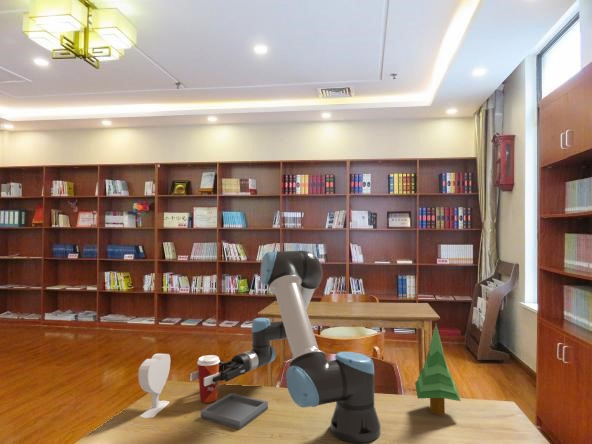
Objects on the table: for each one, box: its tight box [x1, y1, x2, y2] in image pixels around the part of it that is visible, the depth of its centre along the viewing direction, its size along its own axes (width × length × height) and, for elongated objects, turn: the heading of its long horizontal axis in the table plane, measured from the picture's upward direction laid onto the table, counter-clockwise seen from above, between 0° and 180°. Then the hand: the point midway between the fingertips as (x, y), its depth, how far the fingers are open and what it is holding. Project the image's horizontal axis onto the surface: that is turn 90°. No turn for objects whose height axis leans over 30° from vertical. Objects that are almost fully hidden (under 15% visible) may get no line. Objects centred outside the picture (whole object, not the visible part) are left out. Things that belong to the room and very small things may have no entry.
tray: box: [200, 392, 269, 430], centre depth 137 cm, size 16×16×2 cm
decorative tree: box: [414, 323, 462, 416], centre depth 137 cm, size 14×16×30 cm
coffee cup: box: [196, 354, 221, 404], centre depth 147 cm, size 8×8×15 cm
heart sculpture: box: [137, 353, 171, 419], centre depth 141 cm, size 16×5×18 cm, turn 170°
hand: (197, 379), depth 144 cm, fingers closed on coffee cup, 7 cm apart
